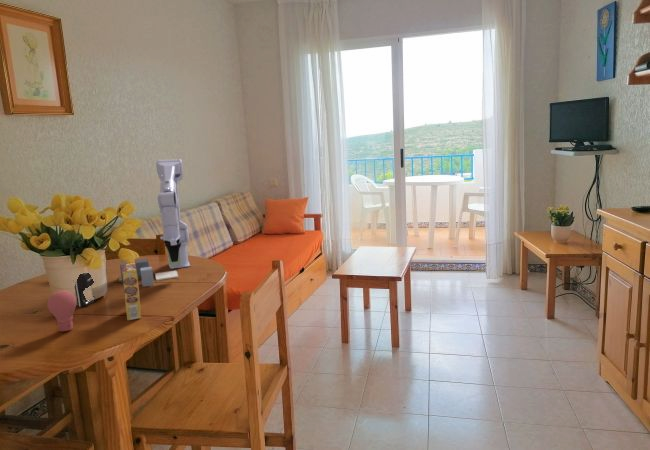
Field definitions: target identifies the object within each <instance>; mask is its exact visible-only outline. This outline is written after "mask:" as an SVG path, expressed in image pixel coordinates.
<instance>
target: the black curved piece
mask: <svg viewBox="0 0 650 450" xmlns="http://www.w3.org/2000/svg"><path fill="white" fill-rule="evenodd" d="M75 283H76V284H75V286H74V290H75V297H76V301H77V303H76V305H77V307H80V308H81V307H88V306H90V305H92V303H94V302H95V301H94V300H92V301H89V300H88V301H89V302H87V300H86V298H85V296H84V294H83V291H84V290H85V288H88V287H89V286H91V287H92V285H94V284H95V283H94V281H93V279H92V277H91V275H90V274H89V273H83V274H80V275H79V277H78V279H77V281H76V282H75ZM93 283H94V284H93Z"/></svg>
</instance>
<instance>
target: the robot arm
mask: <svg viewBox="0 0 650 450" xmlns="http://www.w3.org/2000/svg"><path fill="white" fill-rule="evenodd" d="M155 163H156V164H155V166H156V172H157V175H158V179H159V180H160V185H159V186H160V187H159V193H158V194H157V204H158V208H159V213H160V216H161V225H162V236H160V240H163V243H164V246H165V248H166V250H167V249H168V251H169V254H170V258H171V261H172V262H177V261H178V255H179V253H180V263H181V265H176V266H169V265H168V266H169V269H170V270H172V269H181V268H187V267H191V264H190V261H189V258H188V257H189V256H188V248H187V244H189V243H190V233H189V226H188V224H187V223H185V222H183V221H182V220H181V210H180V196H179V183H180V182H181V181H183V180H184V179H183V178H184V167H183V159H181V158H178V159H177V158H175V159H157V160H156V162H155Z"/></svg>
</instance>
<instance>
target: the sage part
mask: <svg viewBox="0 0 650 450" xmlns="http://www.w3.org/2000/svg"><path fill="white" fill-rule="evenodd" d="M166 250H167V251H166V253H167V259H168V261H167V262H168V266H176V265H181V263H180V253H179V255H178V261H177V262H172V261H171V258H170V254H169V251H168V249H167V248H166Z"/></svg>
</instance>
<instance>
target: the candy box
mask: <svg viewBox="0 0 650 450" xmlns="http://www.w3.org/2000/svg"><path fill="white" fill-rule="evenodd" d="M121 266H122V276H123V282H122V285H123V293H124V305H125V311H126V320H127V321H133V320H140V319H141V318H142V313H141V311H142V310H141V301H140V299H141V298H140V291H139V290H140V289H139V280H138V278H137V270H136V265H135V263H130V264H124V265H121Z"/></svg>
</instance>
